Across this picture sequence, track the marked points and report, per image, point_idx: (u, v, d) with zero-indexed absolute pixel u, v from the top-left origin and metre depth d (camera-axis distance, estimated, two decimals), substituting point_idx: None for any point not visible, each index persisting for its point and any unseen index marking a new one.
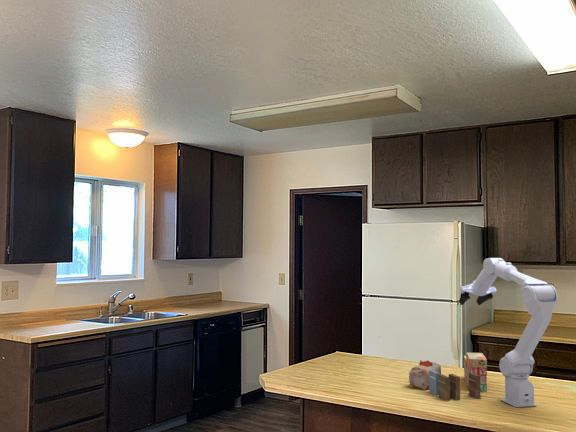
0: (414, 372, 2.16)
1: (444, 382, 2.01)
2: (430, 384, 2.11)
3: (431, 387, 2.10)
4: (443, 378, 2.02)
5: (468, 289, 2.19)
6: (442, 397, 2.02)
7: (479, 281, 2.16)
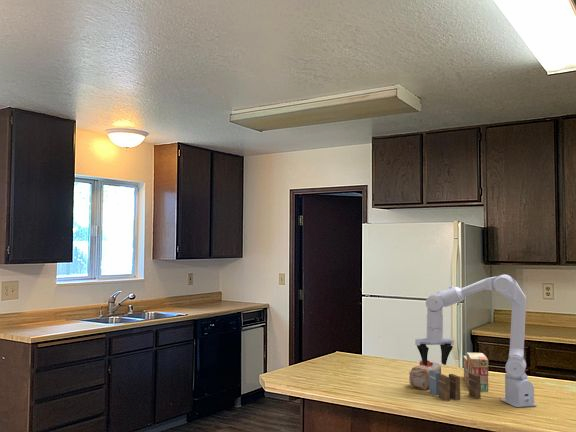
0: (414, 372, 2.16)
1: (444, 382, 2.01)
2: (430, 384, 2.11)
3: (431, 387, 2.10)
4: (443, 378, 2.02)
5: (423, 340, 2.09)
6: (442, 397, 2.02)
7: (435, 326, 2.08)
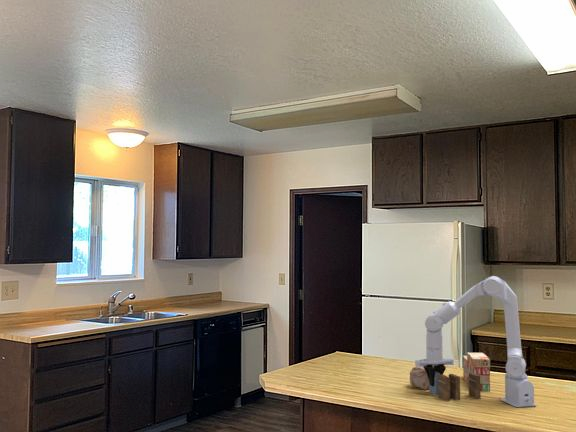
0: (415, 372, 2.16)
1: (444, 382, 2.01)
2: None
3: (431, 387, 2.10)
4: (443, 378, 2.02)
5: (423, 361, 2.08)
6: (442, 397, 2.02)
7: (434, 347, 2.07)
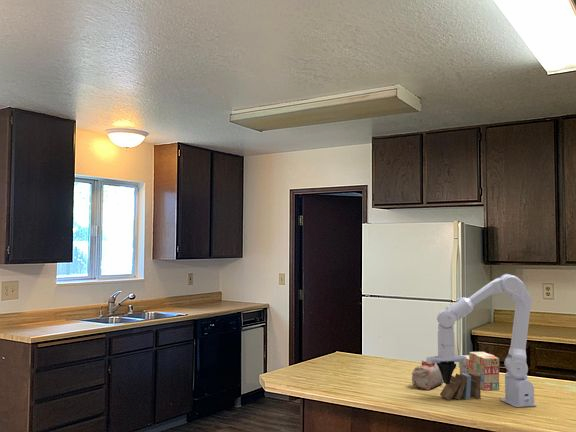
0: (417, 372, 2.16)
1: (454, 382, 2.02)
2: None
3: None
4: (455, 379, 2.03)
5: (434, 358, 2.02)
6: (444, 394, 2.02)
7: (448, 343, 2.01)
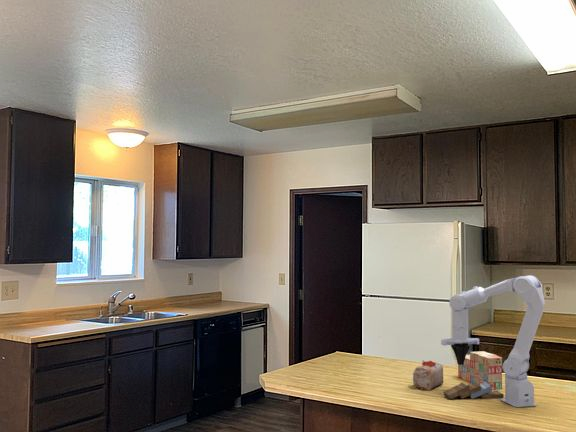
0: (418, 373, 2.16)
1: (463, 387, 2.03)
2: None
3: None
4: (465, 385, 2.04)
5: (449, 340, 2.10)
6: (447, 393, 2.04)
7: (458, 325, 2.09)
